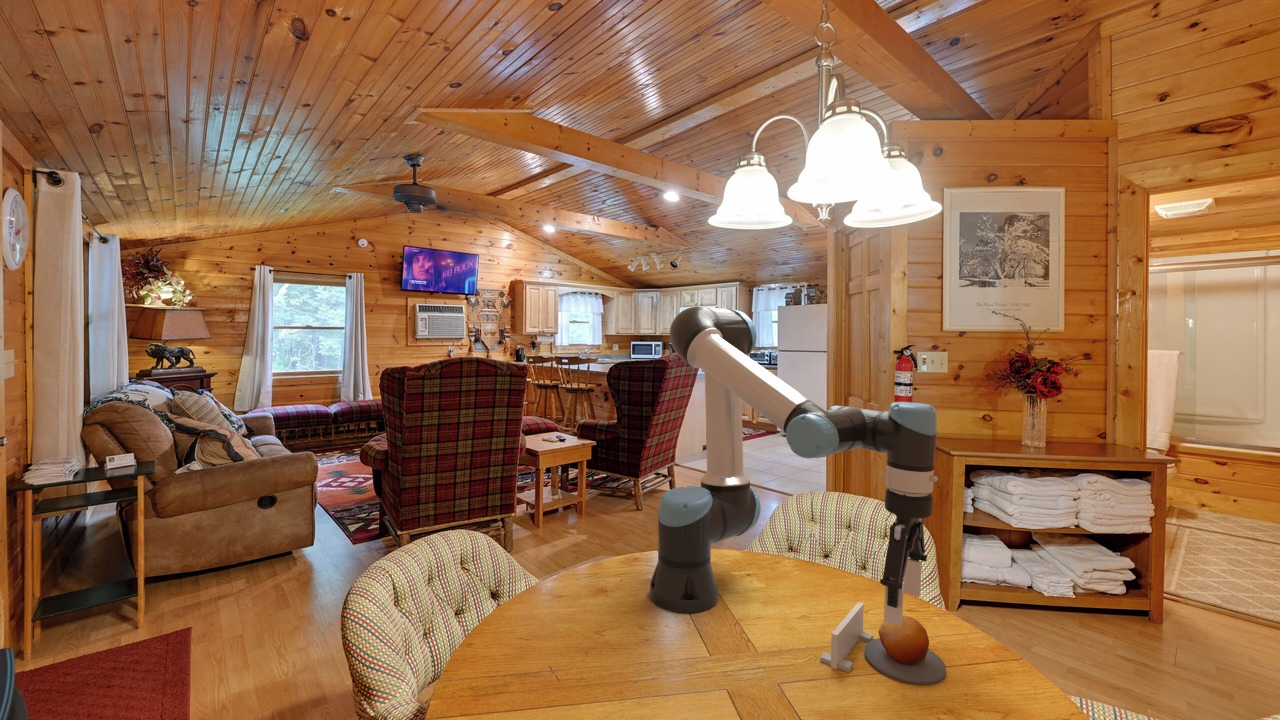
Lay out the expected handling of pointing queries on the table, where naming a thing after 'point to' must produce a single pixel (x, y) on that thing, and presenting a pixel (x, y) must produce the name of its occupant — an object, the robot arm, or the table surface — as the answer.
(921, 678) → the mat
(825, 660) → the wall
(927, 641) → the fruit
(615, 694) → the table surface
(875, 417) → the robot arm
